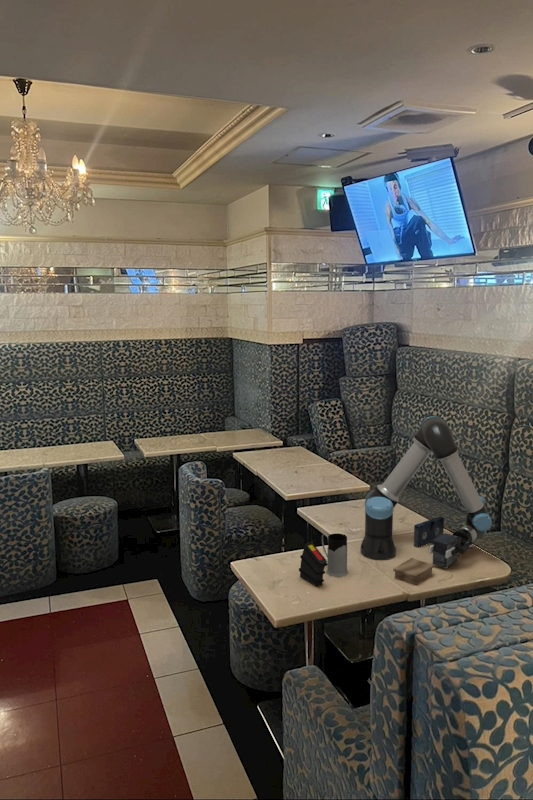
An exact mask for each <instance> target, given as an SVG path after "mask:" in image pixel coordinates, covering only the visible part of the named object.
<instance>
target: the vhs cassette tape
mask: <svg viewBox="0 0 533 800" xmlns="http://www.w3.org/2000/svg"><path fill="white" fill-rule="evenodd" d="M444 527H445V517H443V516H438V517H434V518H431V519H428V520H426V521H423V522H421V523H416V524H414V527H413V528H414V529H413V547H415V548H421V546H422V547H425V546H426V544H427V545H429V543H430V544H432V540H433V539H435V538H438V537H440V536H441V535H442V534H444Z"/></svg>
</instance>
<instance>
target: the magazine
mask: <svg viewBox="0 0 533 800" xmlns="http://www.w3.org/2000/svg"><path fill="white" fill-rule="evenodd" d="M302 548H303V551H302V554H301V555H300V557H299V558H300V559H301V560H300V568H298V572H300V574H299V577H300V578H301V579H303V580H304V581H306V582H308V583H309V584H310V585H313V586H314V587H316V588H317V587H321V586H323V583H324V582H325V579H324V574H326V572H325V568H326V567H327V565H328V564H327V562H328V560H327V559H326V558H325V556H324V555H323V554H322V553H321V552H320V551H319V549H318V548H317V546H315V544H314V542H311V541H310V542H307V543H305V544H304V545H303V547H302Z"/></svg>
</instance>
